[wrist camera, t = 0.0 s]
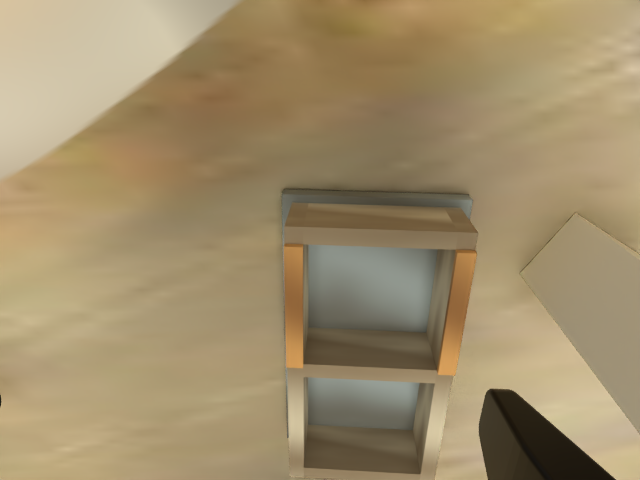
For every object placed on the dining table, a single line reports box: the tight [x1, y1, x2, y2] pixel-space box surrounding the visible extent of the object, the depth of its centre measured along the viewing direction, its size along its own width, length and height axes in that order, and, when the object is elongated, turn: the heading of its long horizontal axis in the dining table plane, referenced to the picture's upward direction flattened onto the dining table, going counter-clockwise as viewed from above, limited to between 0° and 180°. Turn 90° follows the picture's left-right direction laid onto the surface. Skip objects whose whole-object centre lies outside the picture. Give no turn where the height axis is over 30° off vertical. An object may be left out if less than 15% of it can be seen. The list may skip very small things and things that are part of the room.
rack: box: [282, 189, 478, 480], centre depth 23 cm, size 16×9×4 cm, turn 179°
